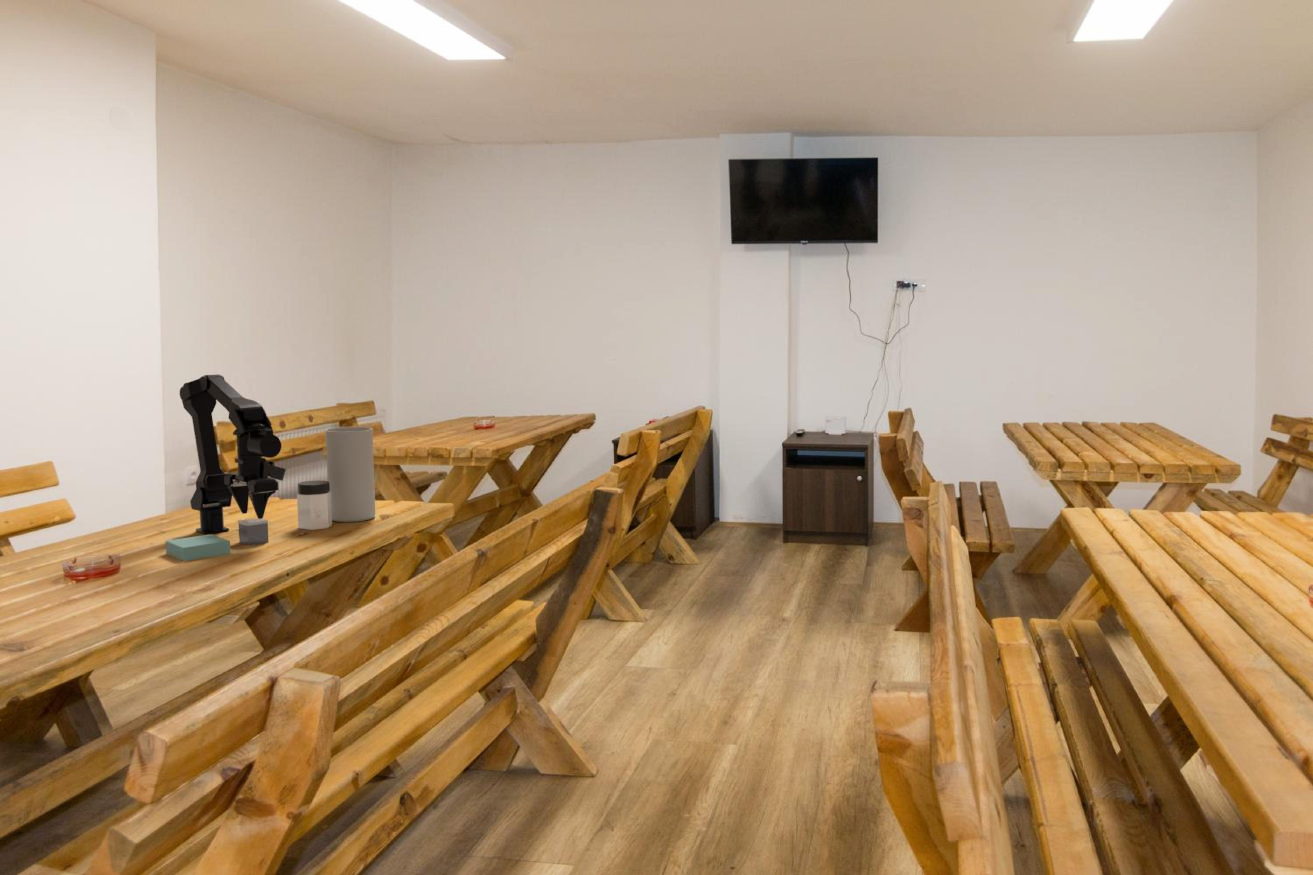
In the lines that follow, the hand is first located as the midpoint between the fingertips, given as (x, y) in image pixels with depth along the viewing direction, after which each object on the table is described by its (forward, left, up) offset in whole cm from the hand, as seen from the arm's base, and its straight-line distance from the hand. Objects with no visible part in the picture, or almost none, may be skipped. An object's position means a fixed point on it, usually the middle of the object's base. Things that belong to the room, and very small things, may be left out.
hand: (252, 515), depth 274 cm
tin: (0, 0, -7) cm, 7 cm away
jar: (-7, +20, -7) cm, 22 cm away
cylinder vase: (-11, +33, -7) cm, 35 cm away
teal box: (+3, -15, -7) cm, 17 cm away
